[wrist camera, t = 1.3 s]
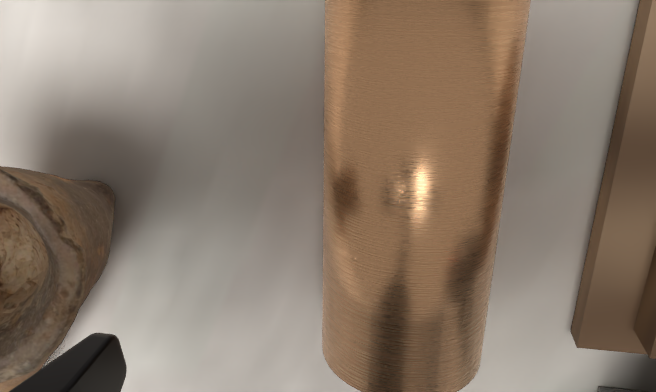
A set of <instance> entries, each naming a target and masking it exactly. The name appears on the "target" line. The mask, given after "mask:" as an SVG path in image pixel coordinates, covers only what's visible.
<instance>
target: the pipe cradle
mask: <svg viewBox="0 0 656 392" xmlns="http://www.w3.org/2000/svg"><path fill="white" fill-rule="evenodd" d="M571 334H572V336H573V339H574V341H575V344H576V346H577V348H587V349H598V350H608V351H618V352H629V353H639V354H647V355H648V356H649V358H653V359H656V0H640V3H639V8H638V12H637V17H636V22H635V27H634V31H633V36H632V41H631V46H630V51H629V55H628V60H627V65H626V70H625V74H624V79H623V84H622V89H621V93H620V98H619V103H618V108H617V113H616V117H615V122H614V127H613V132H612V136H611V141H610V146H609V151H608V156H607V160H606V165H605V170H604V175H603V179H602V184H601V189H600V194H599V198H598V203H597V208H596V213H595V218H594V222H593V227H592V232H591V237H590V241H589V246H588V251H587V256H586V261H585V265H584V270H583V275H582V280H581V284H580V289H579V294H578V299H577V303H576V308H575V313H574V318H573V323H572V327H571Z"/></svg>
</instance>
